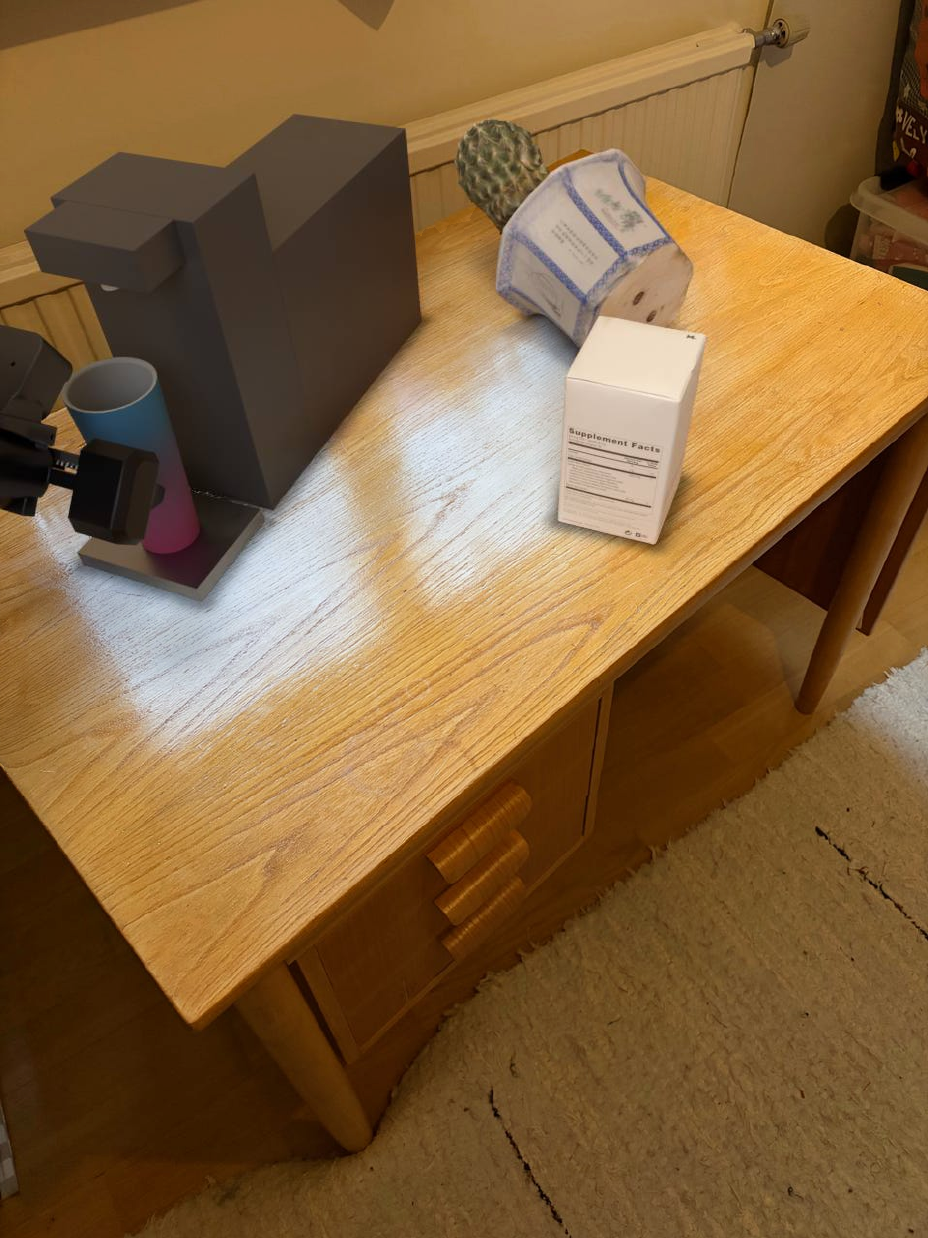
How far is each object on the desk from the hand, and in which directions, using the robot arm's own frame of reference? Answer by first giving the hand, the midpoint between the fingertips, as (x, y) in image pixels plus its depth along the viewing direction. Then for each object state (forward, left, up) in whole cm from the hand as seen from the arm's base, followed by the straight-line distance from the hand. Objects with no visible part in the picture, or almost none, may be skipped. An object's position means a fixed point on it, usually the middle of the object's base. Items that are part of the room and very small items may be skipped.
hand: (111, 480), depth 66 cm
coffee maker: (+15, +19, -10) cm, 26 cm away
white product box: (+40, -5, -10) cm, 42 cm away
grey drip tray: (+2, +3, -10) cm, 10 cm away
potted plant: (+46, +27, -10) cm, 55 cm away
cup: (+2, +2, -9) cm, 9 cm away
